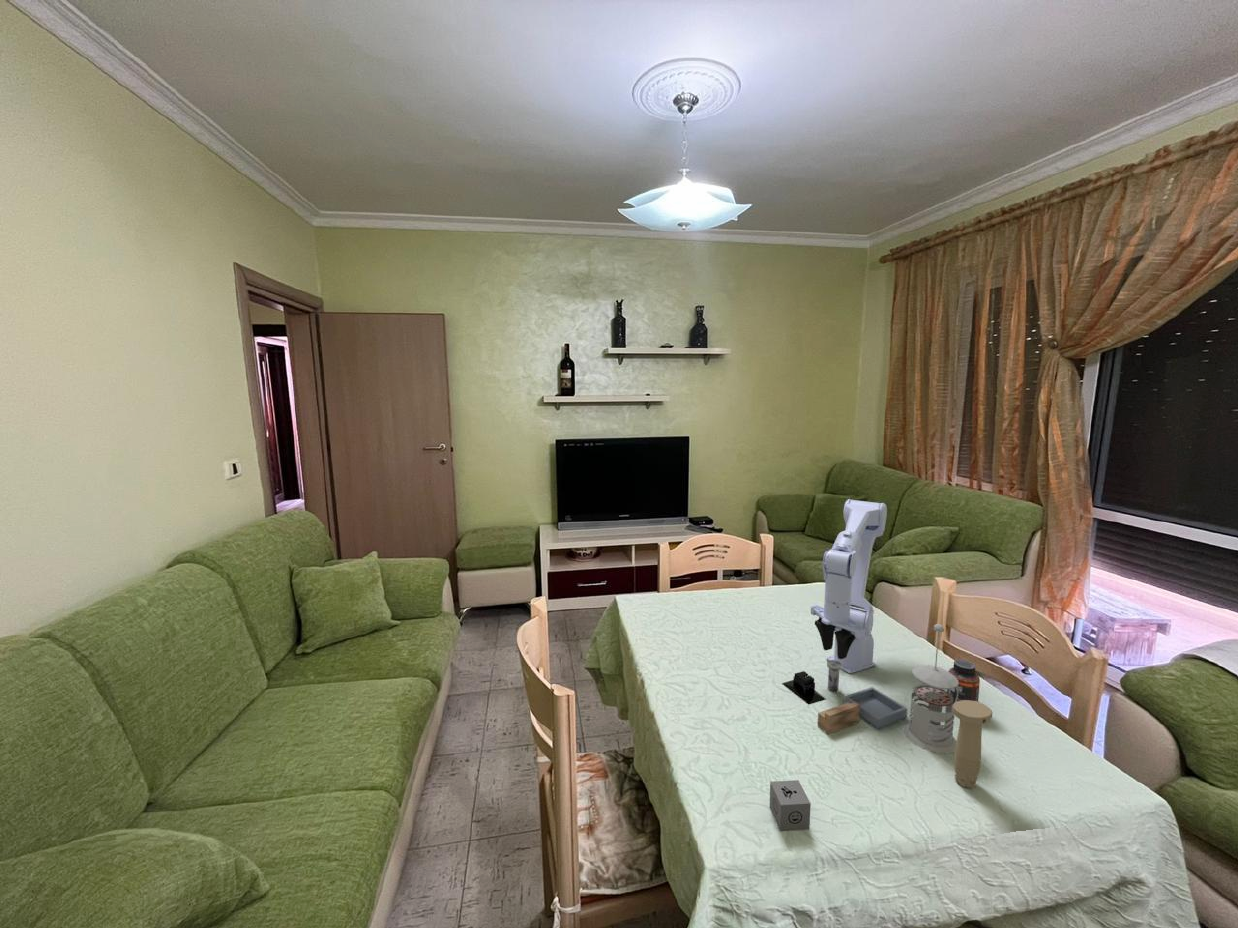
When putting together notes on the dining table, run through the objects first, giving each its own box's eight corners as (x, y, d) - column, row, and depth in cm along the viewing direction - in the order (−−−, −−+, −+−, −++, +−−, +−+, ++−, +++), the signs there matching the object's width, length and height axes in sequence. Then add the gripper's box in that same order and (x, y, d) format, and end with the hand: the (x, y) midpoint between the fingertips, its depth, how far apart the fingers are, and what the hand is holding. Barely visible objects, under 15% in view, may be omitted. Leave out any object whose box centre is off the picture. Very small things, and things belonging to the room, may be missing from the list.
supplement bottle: (972, 704, 116) (976, 658, 114) (981, 720, 110) (985, 672, 108) (942, 699, 118) (946, 654, 116) (949, 715, 112) (953, 668, 110)
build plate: (834, 704, 117) (835, 686, 117) (809, 712, 115) (810, 694, 114) (797, 676, 129) (798, 659, 128) (774, 683, 126) (775, 666, 125)
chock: (847, 714, 113) (848, 697, 112) (859, 722, 110) (860, 704, 109) (817, 725, 109) (818, 707, 109) (828, 733, 106) (829, 715, 106)
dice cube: (769, 807, 88) (770, 781, 87) (797, 805, 88) (798, 780, 88) (779, 831, 83) (780, 804, 82) (809, 829, 83) (810, 803, 83)
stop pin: (832, 684, 124) (834, 658, 123) (843, 691, 121) (844, 665, 120) (822, 687, 123) (824, 661, 122) (833, 694, 120) (834, 668, 119)
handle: (939, 776, 94) (946, 703, 92) (967, 770, 96) (974, 697, 94) (962, 796, 90) (970, 719, 88) (991, 789, 91) (999, 713, 89)
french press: (892, 728, 108) (900, 619, 104) (929, 714, 112) (937, 609, 109) (937, 759, 99) (947, 640, 95) (974, 742, 103) (985, 628, 100)
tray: (871, 696, 119) (872, 686, 119) (906, 718, 111) (907, 708, 111) (843, 706, 116) (844, 696, 115) (877, 730, 107) (878, 719, 107)
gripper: (802, 591, 124) (800, 643, 126) (850, 615, 111) (847, 672, 113) (823, 587, 127) (821, 637, 129) (873, 609, 114) (869, 665, 116)
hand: (834, 653), depth 121 cm, fingers open, 4 cm apart
